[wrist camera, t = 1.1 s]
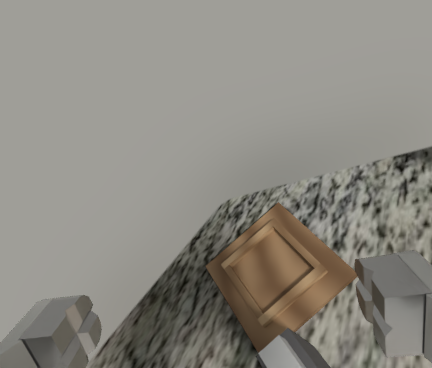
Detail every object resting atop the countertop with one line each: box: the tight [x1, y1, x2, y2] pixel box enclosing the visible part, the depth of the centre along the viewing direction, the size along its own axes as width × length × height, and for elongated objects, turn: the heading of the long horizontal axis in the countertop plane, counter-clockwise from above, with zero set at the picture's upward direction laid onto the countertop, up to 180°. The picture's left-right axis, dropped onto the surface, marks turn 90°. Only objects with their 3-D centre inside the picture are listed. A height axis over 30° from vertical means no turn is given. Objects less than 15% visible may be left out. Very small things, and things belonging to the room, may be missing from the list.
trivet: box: [206, 202, 357, 353], centre depth 42 cm, size 16×16×2 cm
